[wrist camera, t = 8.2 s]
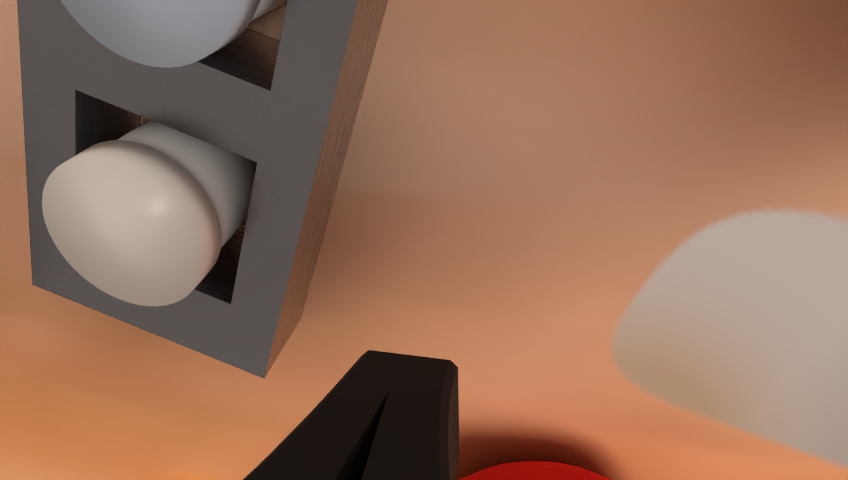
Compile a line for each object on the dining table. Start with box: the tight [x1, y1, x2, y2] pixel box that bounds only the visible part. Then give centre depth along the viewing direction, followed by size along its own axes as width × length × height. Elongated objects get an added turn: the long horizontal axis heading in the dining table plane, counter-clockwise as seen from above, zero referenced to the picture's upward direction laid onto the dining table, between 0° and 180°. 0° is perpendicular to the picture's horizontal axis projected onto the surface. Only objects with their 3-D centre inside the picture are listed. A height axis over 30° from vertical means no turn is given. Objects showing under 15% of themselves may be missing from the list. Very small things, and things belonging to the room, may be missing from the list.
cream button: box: [42, 119, 257, 306], centre depth 18 cm, size 4×4×4 cm
